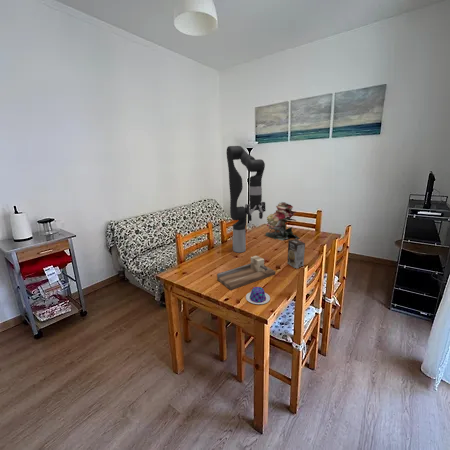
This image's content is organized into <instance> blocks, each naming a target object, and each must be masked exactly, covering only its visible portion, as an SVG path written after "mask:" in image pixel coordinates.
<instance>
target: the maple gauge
mask: <svg viewBox="0 0 450 450" xmlns="http://www.w3.org/2000/svg"><path fill="white" fill-rule="evenodd" d="M250 264H251V268H252V269H254V270H255V271H257V272H260V271H263V270H264V269H265V272H266V270H267V268H265V267H264V265H265V259H264V258H263V257H260V256H259V255H253V256H250Z"/></svg>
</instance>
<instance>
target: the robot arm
mask: <svg viewBox="0 0 450 450" xmlns="http://www.w3.org/2000/svg"><path fill="white" fill-rule="evenodd" d="M226 159H227V169H228V185H229V195H230V196H229V197H230V201H229V203H230V206H229V213H230V219H231V220H232V221H236V222H235V223H233V225H232V250H233V252H234V253H244V252H246V250H247V249H246V243H247V241H246V237H247V236H246V234H247V231H246V226H247V220H248V222H251V221H252V214H253V213H254V211H258V212H259V213H258V218H259V219H260V220H262V219H263V217H264V212H266V211H267V210H266V202H265V201H263V199H262V198H263V188H262V181H263V180H262V178H263V175H264V172H265V171H264V170H265V166H266V163H265V161H264V160H263V159H256V158H255V157H254V156H252V155H251V154H249V153H248V152H247V151H246V150H245V149H244V148H243V147H242V146H241V145H228V146H227V147H226ZM236 160H237V161H238V160H240V163H241V164H242V165H243V166H245V168H246V170H247V171H248V172H249V173H255V174H254V175H252V176H250V177H249V189H248V190H249V192H248V193H249V194H248V195H249V196H248V200H249V204H248V203H245V205H244V206H242V205H241V206H238V199H239V197H240V195H241V193H242V191H243V189H244V188H243V187H244V186H243V178H242V176H241V174H240V172H239V171H238V169H236V166H235V163H234V161H236Z"/></svg>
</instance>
